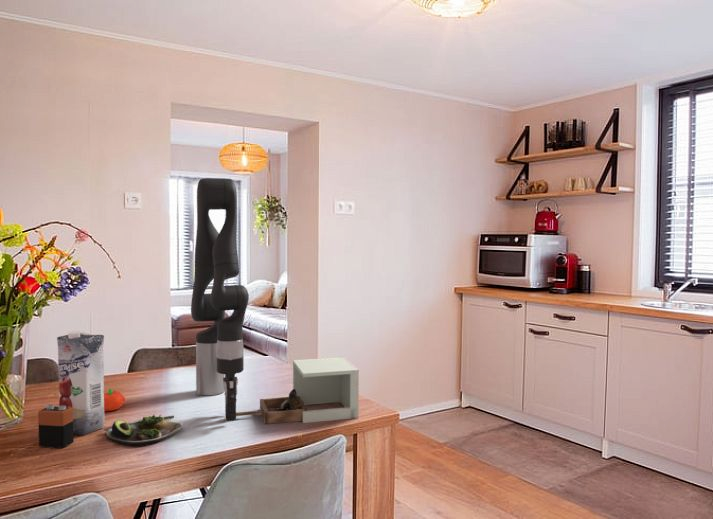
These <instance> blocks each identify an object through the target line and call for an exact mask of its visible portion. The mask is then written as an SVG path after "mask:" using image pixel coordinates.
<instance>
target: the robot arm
mask: <svg viewBox="0 0 713 519" xmlns="http://www.w3.org/2000/svg"><path fill="white" fill-rule="evenodd" d="M236 187H237V186H236V184H235V181H234V180H233V179H232V178H224V177H223V178H221V177H219V178H217V177H214V178H213V177H207V178H206V177H205V178H204V177H203V178H200V179H199V181H198V182H197V187H196V237H195V247H194V248H195V249H194V278H193V288H192V294H191V301H190V302H191V305H190V314H191V319H192V320H193V321H194V322H213V324H212V325H210V326H209V327H207V328H206V329H204V330H201V331H198V332H196V335H195V348H196V349H195V354H196V355H195V356H196V358H195V365H196V366H195V372H196V373H195V374H196V375H195V379H196V380H195V383H196V384H195V385H196V387H195V388H196V391H195V395H197V396H214V395H215V396H216V395H220V394H223V393H224V397H225V396H226V397H227V400H226V402H227V416H228V417H231V416H235V403H236V404H237V395H238V385H239V384H238V383H239V381H238V376H236V375H237V374H240V373H242V372H243V371H244V370H245V369H244V364H245V362H244V361H245V360H244V341H243V326H244V325H243V323H244V320H245V315H246V311H247V307H248V305H249V299H250V296H249V294H250V293H249V291H248V289H247V287H245V286H244V285H241V284H238V285H237V284H235V285H231V284H230V285H225V284H224V283H225V281H226V280H229V279H233V278H236V277H238V275H239V274H240V265H239V264H240V263H239V256H238V246H237V243H238V242H237V240H238V239H237V232H238V227H237V226H238V225H237V224H238V194H237V188H236ZM210 210H211V211H212V210H215V211H216V210H225V219H224V223H223V225H222V227H221V229H220V231H218V230H217V229H216V227H215V225H214V224H213V222H212V220H211V217H210V214H209V213H210ZM211 282H212V283H213V284H212V288H211V292H210V293H205V292H206V290H207V288H208V286H209V285H210V284H211ZM226 311H233V312H232V313H231V315H229V316H227V317H225V316H226ZM230 395H233V396H234V398H229V396H230Z"/></svg>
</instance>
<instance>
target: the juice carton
mask: <svg viewBox="0 0 713 519" xmlns="http://www.w3.org/2000/svg"><path fill="white" fill-rule="evenodd" d="M104 339H105V335H103V334H89V333H85V332H81V331H80V330H73V331H69V332H67V334H65V335H60V336H57V337H56V340H57V355H58V356H57V359H58V360H57V363H58V364H57V367H58V370H57V371H58V407H59V406H63V405H64V406H66V407H72V408H73V435H77V436H81V437H82V436H85V435H88V434H91V433H93V432H95V431H99V430H101V429H102V430H103V429H104V427H105V411H104V394H105V385H104V384H105V380H104V379H105V377H104V376H105V373H104V371H105V370H104V341H105V340H104Z"/></svg>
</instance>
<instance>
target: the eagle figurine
mask: <svg viewBox="0 0 713 519" xmlns="http://www.w3.org/2000/svg"><path fill="white" fill-rule="evenodd" d="M296 396H297V393H296V390H295V389H293V388H292V389H291V391H290V392H289V394H288V397H289V399H288V400H286V401H285V402H283V403H282V404H281V407H279V408H277V411H281V410H284V409H285V410H298V409H297V408H298V407H299V406H301V405H302V404H303V402H304V401H303V402H302V403H300V404H299V405H298V406H297V403H296V402H295V404H293V402H294V401H295V400H296V398H297V397H296Z"/></svg>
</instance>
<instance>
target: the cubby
mask: <svg viewBox="0 0 713 519" xmlns="http://www.w3.org/2000/svg"><path fill="white" fill-rule="evenodd" d="M359 377H360V376H359V369H358V368H357V367H356V366H355V365H353V364H352V363H351V362H350V361H348V360H347V359H346V358H345V357H344V356H343V357H326V358H324V357H322V358H308V359H307V358H306V359H294V360H292V390H293V389H295V390H296V393H297V396H299V397H300V398H301V400H302V402H303V401H304V402H303V403H304V405H305V406H308V405H317V404H318V405H321V404H331V403H341V404H342V405H343V406H344V407H336V408H335V407H334V408H325V409H312V410H310V409H309V410H308V411H302V423H303V424H306V423H319V422H327V421H340V420H350V419H359V408H360V407H359V406H360V405H359V402H360V400H359V399H360V398H359V394H360V392H359V389H360V388H359V385H360V384H359V381H360V380H359Z"/></svg>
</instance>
